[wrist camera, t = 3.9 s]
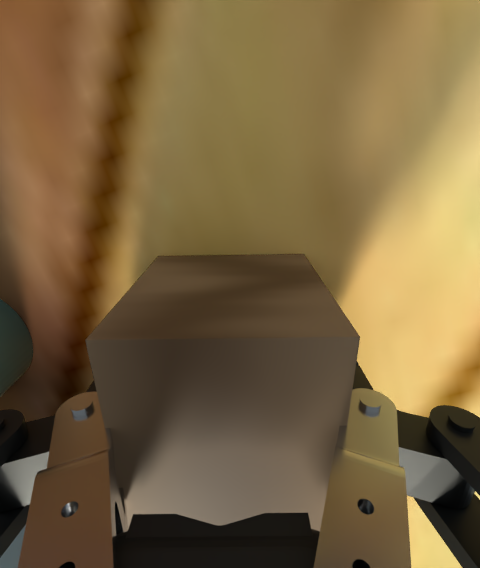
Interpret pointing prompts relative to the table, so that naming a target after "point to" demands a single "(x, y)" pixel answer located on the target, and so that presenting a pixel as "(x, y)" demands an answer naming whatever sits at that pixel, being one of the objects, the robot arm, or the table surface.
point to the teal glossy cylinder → (13, 347)
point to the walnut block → (225, 386)
